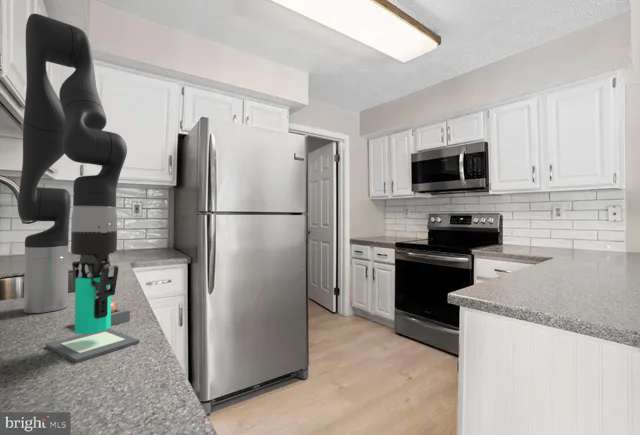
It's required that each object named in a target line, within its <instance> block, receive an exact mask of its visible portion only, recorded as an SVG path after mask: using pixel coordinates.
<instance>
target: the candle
mask: <svg viewBox="0 0 640 435" xmlns="http://www.w3.org/2000/svg"><path fill="white" fill-rule="evenodd" d="M94 281H95V282H100V277H99V278H94ZM109 289H110V285H109ZM74 290H75V292H74V293H75V294H74V298H75V299H74V333H75V334H78V335H82V334H91V333H97V332H101V331H104V330H107V329H111V327H112V325H111V301H112V295H111V296H110V297H108V307H107V316H106V317H102V318H98V319H96V318H94V300H95V299H94V288H93V287H91V286H90V279H89V278H80V277H78V278H76V279H75V289H74ZM98 291H99V286H98Z"/></svg>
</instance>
